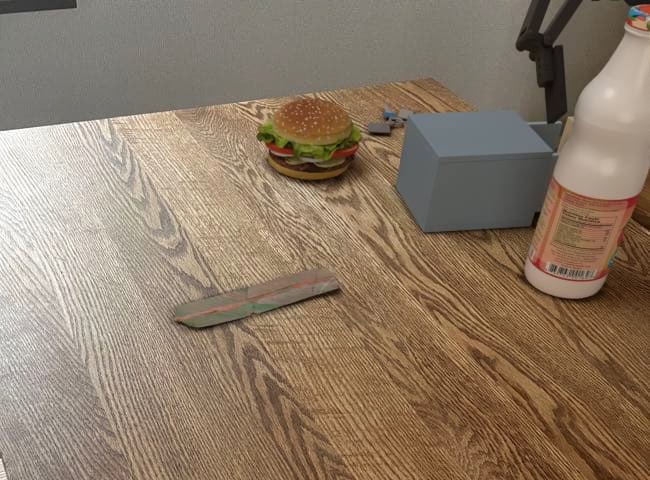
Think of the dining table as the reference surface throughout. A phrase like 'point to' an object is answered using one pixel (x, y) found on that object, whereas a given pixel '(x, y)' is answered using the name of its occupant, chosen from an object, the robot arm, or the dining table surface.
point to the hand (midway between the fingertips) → (618, 115)
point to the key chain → (386, 125)
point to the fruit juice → (597, 173)
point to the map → (256, 298)
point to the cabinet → (471, 170)
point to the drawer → (550, 137)
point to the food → (310, 139)
